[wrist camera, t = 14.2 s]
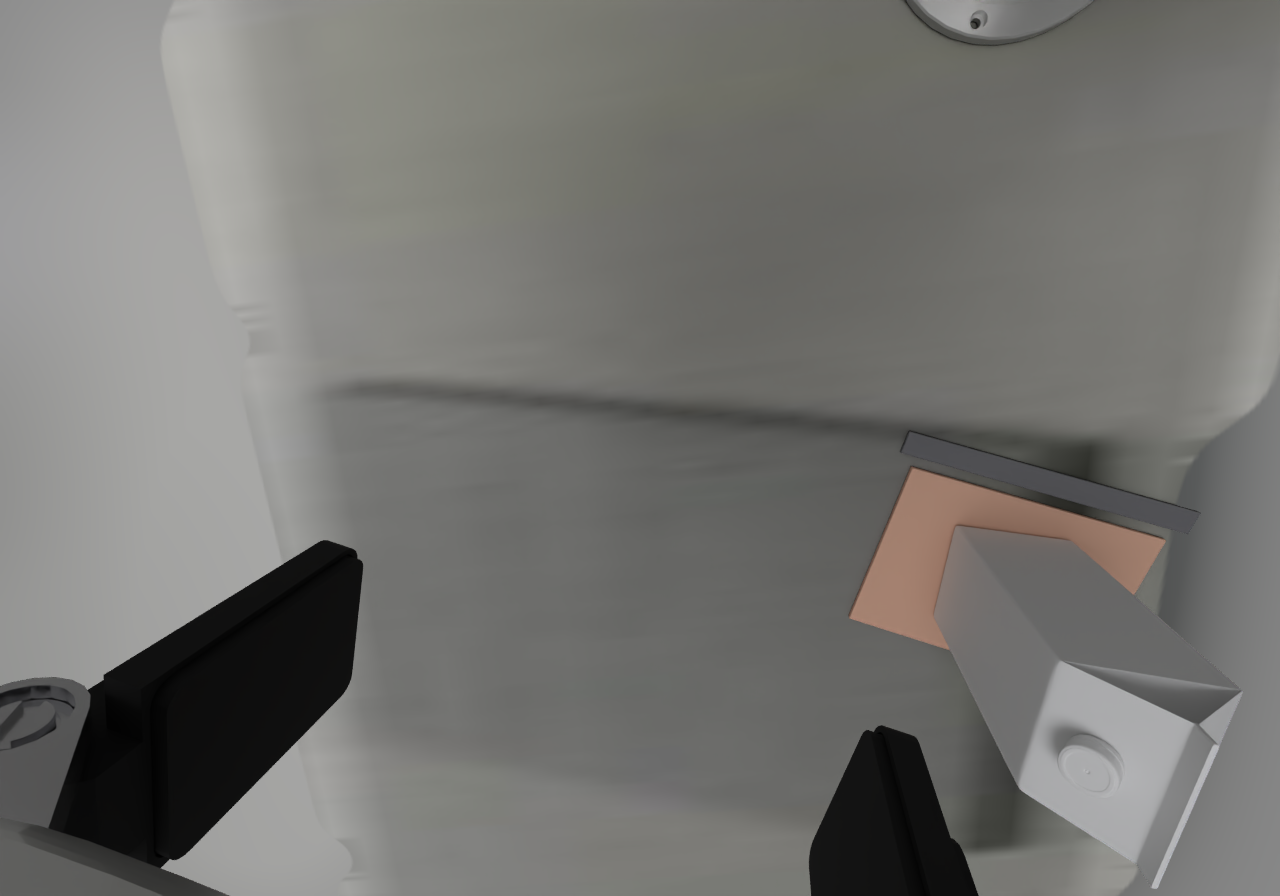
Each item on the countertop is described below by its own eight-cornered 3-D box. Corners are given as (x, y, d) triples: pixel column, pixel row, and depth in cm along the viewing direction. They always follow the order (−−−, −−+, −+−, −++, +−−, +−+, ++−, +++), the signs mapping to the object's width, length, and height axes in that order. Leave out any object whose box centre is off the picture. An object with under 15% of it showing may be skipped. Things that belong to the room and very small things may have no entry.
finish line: (908, 430, 40) (909, 431, 39) (1197, 511, 38) (1200, 513, 37) (900, 451, 40) (901, 452, 40) (1184, 532, 38) (1187, 534, 38)
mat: (910, 466, 40) (912, 467, 40) (1162, 537, 38) (1166, 540, 38) (848, 615, 44) (849, 618, 44) (1074, 686, 42) (1077, 690, 42)
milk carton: (1070, 538, 39) (1331, 765, 21) (1041, 633, 41) (1255, 911, 23) (954, 523, 40) (1108, 725, 22) (931, 615, 42) (1056, 868, 25)
